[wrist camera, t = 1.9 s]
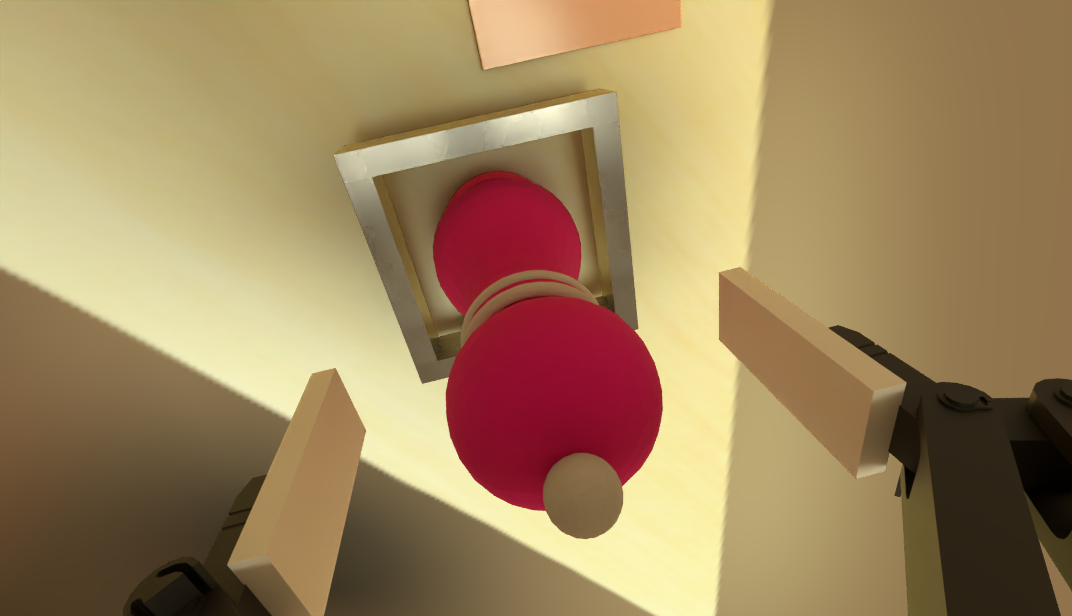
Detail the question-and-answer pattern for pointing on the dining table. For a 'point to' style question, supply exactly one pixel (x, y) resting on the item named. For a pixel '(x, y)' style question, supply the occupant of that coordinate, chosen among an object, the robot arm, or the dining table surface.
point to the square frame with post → (473, 136)
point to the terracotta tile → (562, 25)
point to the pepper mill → (540, 360)
